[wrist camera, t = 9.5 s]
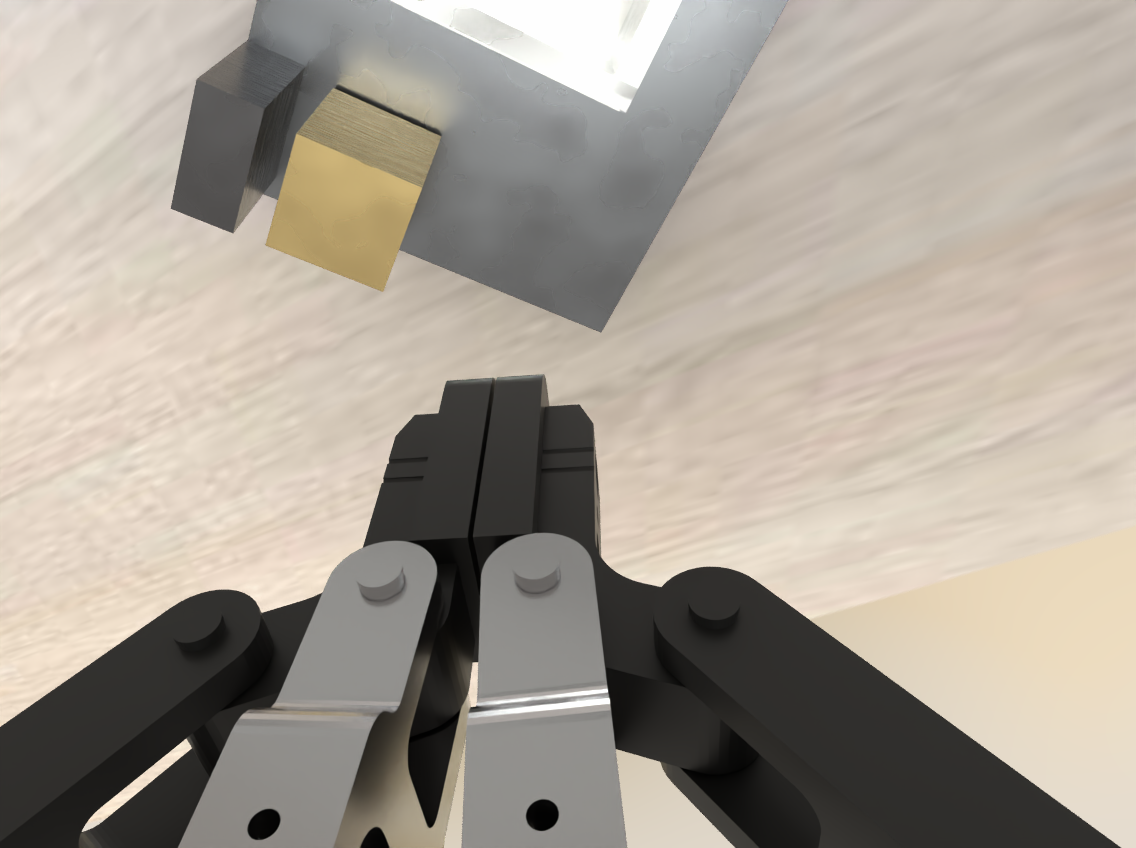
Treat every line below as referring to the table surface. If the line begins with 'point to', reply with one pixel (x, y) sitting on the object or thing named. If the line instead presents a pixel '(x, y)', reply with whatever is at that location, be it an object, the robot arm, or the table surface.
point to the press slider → (351, 188)
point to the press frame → (491, 124)
